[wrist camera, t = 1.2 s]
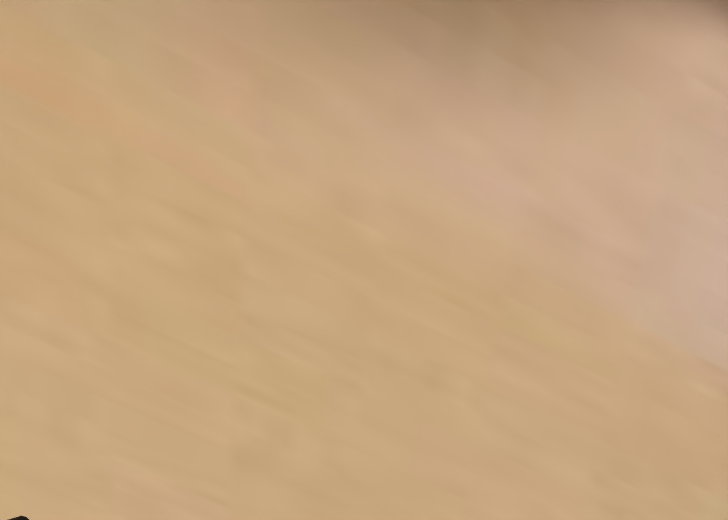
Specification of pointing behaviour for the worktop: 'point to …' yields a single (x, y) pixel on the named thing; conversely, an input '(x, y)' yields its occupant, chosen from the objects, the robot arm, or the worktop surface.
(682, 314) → the worktop surface
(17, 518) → the robot arm
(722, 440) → the worktop surface
